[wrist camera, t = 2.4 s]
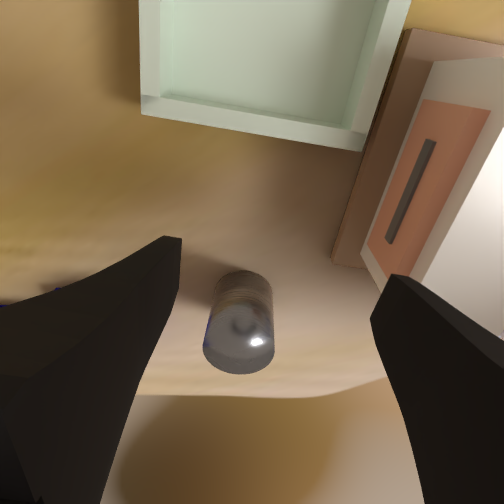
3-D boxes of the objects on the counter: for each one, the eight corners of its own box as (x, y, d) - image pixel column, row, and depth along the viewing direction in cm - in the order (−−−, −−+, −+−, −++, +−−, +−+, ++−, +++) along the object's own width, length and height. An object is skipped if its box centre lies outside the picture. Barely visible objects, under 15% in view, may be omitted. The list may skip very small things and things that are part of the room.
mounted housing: (532, 54, 14) (731, 41, 8) (420, 271, 20) (487, 357, 14) (405, 29, 14) (514, -3, 8) (330, 257, 20) (358, 338, 14)
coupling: (277, 275, 21) (281, 328, 16) (266, 320, 23) (267, 378, 18) (218, 266, 21) (205, 318, 16) (212, 312, 23) (200, 369, 18)
